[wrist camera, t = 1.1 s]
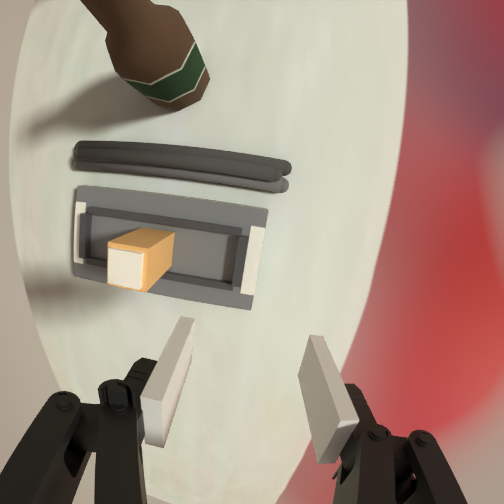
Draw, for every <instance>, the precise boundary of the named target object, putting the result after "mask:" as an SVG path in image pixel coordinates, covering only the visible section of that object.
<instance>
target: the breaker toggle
mask: <svg viewBox="0 0 504 504" xmlns="http://www.w3.org/2000/svg"><path fill="white" fill-rule="evenodd" d="M174 236H175V232H171V231H164V230H158V229H151V228H145V227H142V228H140V229H137V230H135V231H132V232H130V233H127V234H125V235H123V236H120V237H118V238H116V239H113V240H111V241H109V242H108V250H107V284H108V285H112V286H117V287H121V288H126V289H131V290H136V291H140V292H145V293H146V292H147V291H148V290H149V289H150V288H151V287H152V286H153V285H154V284H155V282H156V281H157V280H158V279H159V278H160V277H161V276H162V275H163V274H164V273H165V272H166V271H167V270H168V269H169V268H170V267H171V266H172V256H173V245H174Z"/></svg>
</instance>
